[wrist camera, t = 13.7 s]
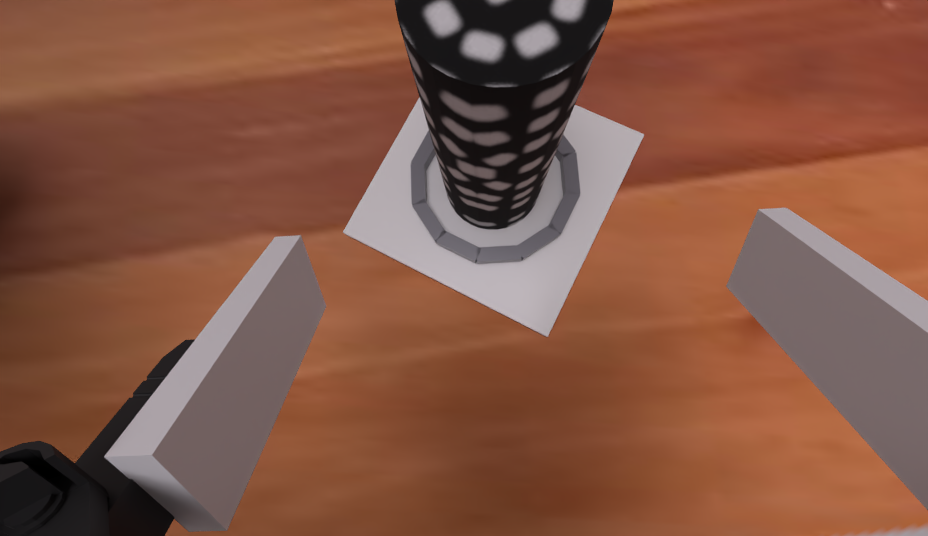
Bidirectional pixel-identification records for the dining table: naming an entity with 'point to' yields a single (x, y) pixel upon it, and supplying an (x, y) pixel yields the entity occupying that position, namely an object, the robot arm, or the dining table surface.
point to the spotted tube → (499, 92)
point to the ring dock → (504, 250)
